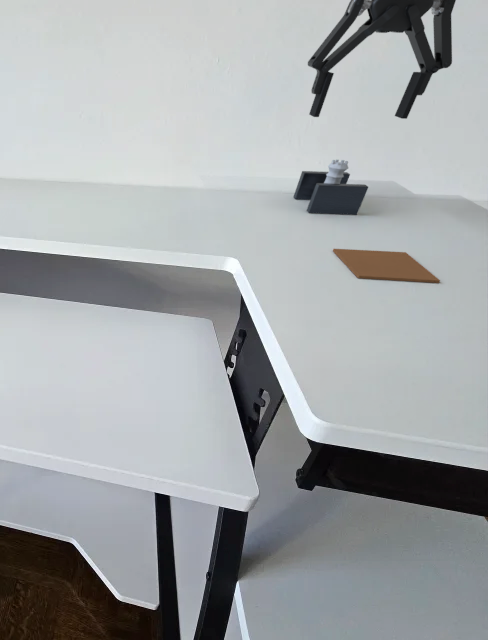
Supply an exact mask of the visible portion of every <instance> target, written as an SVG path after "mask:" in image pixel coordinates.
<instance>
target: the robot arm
mask: <svg viewBox="0 0 488 640" xmlns="http://www.w3.org/2000/svg"><path fill="white" fill-rule="evenodd" d="M456 1H457V0H350V1H349V3H348V4H347V7H346V10H345V12H344V14H343V15H342V17H341V19H340V20H339V21H338V22H337V23H336V25H335V26H334V27H333V28H332V30H331V31H330V33H329V34H328V35H327V36H326V38H325V39H324V40H323V42H322V43H321V44H320V45H319V47H318V48H317V49H316V50H315V52H314V53H313V54H312V56H311V57H310V59H308V61H307V66H308V67H310V68H312V69H313V70H314V69H315V71H316V75H315V77H314V80H313V84H312V87H311V90H310V91H311V94H312V95H314V98H313V101H312V104H311V108H310V110H309V114H308V115H309V116H311V117H312V118H319V117H320V115H321V112H322V109H323V106H324V104H325V100H326V97H327V94H328V92H329V88H330V87H331V83H332V81H333V78H334V74H335V73H334V72H332V71H331V70H332V69H333V68H334V67H335V66H337V65H338V64H339V63H340V62H341V61H342V60H343V59H344V58H346V57H347V56H348V55H349V54H350V53H351V52H353V50H355V49H356V48H357V47H358V46H359V45H360V44H361V43H363V42H364V41H365V40H366V39H367V38H368V37H370V36H372V35H373V34H374V33H376V34H377V33H378V34H386V33H397V34H398V33H399V34H400V33H401V34H402V33H405V35H406V36H407V38H408V40H409V43H410V46H411V49H412V51H413V54H414V56H415V60H416V62H417V65H418V67H419V70H420V71H413V72H412V74H411V77H410V79H409V81H408V83H407V85H406V88H405V91H404V93H403V95H402V97H401V99H400V102H399V104H398V107H397V109H396V111H395V114H394V117H397V118H399V119H405V120H406V119H408V117H409V115H410V112H411V110H412V108H413V106H414V104H415V101H416V99H417V97H418V96H423V94H424V93H425V91H426V90H427V87H428V84H429V83H430V81H431V79H432V76H433V74H436V73H438V71H440V70H442V69H449V67H451V66H452V63H453V40H452V39H453V35H452V34H453V33H452V13H453V10H454V7H455V4H456ZM430 10H431V14H432V15H433V21H432V22H433V25H432V26H433V50H432V48H431V46H430V42H429V40H428V37H427V35H426V32H425V24H424V21H423V19H422V17H423V16H425V15H426V14H427V13H428V12H429V11H430ZM365 11H367V14H368V17H369V18H368V19H367V20H366V21H365V22H364V23H362V24H361V26H359V27H358V29H357V30H356V31H355V32H354V33H353V34H352V35H351V36H350V37H348V38H347V39H346V40H345V41H344V42H343V43H341V44H340V45H339V46H338V47H337V48H336V49H335V50H334V51H333V52H332V50H333V49H334V48H335V46H336V45H337V44H338V43H339V41H340V40H341V39H342V37H343V36H344V35H345V34H346V32H347V31H348V30H349V29H350V28H351V27H352V25H353V24H354V22H355V21H356V20H357V18H358V17H359V16H361V15H363V13H364V12H365ZM331 52H332V53H331ZM433 52H434V53H433Z"/></svg>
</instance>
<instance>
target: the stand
mask: <svg viewBox="0 0 488 640" xmlns="http://www.w3.org/2000/svg"><path fill="white" fill-rule="evenodd" d="M328 172H329V171H318V170H317V171H313V170H302V171H301V173H300V176H299V179H298V182H297V186H296V188H295V192H294V193H293V198H294V200H306V201H309V203H308V205H307V207H306V212H307V213H308V214H321V215H346V216H348V215H349V216H350V215H351V216H357V215H358V213H359V211H360V209H361V206H362V203H363V201H364V199H365V196H366V194H367V192H368V189H369V186H368V185H367V184H360V183H348V181H349V178H350V176H351V173H349V172H348V171H344V173H343V176H344V177H343V178H342V179H341V181H340V184H330V183H324V182H325V180H326V177H327V176H326V174H327V173H328Z"/></svg>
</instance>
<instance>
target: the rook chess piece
mask: <svg viewBox="0 0 488 640" xmlns="http://www.w3.org/2000/svg"><path fill="white" fill-rule="evenodd" d="M348 164H349V161H348V160H344V159H341V160H340V159H332V160H331V163H329V164H328V165H327V169H328V171H327V172H328V173H327V174H326V176H327V177H326V180H325V182H324V183H330V184H340V181H341V179H342V178H343V177H344V176H343V173H344V172H347V170H348V169H349V165H348Z"/></svg>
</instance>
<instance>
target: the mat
mask: <svg viewBox="0 0 488 640" xmlns="http://www.w3.org/2000/svg"><path fill="white" fill-rule="evenodd" d="M332 252H333V253H334V254H335V256H337V258H338V259H339V260H340V261H341V262H342V263H343V264H344V265H345V266H346V268H348V270H349V271H351V273H352V274H353V275H354V276H355V277H356V278H357V279H363V280H365V279H366V280H380V281H381V280H383V281H397V282H415V283H428V284H429V283H430V284H431V283H432V284H439V283H440V282H441V280H440V279H439V278H438V277H437V276H435V275H434V274H433V273H432V272H430V271H429V270H428V269H427V268H426V267H424V266H423V265H422V264H421V263H420V262H419V261H417V260H416V259H415V258H414V257H412V256H411V255H410V254H409V253H407V252H406V251H388V250H387V251H386V250H369V249H351V248H333V249H332Z"/></svg>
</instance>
